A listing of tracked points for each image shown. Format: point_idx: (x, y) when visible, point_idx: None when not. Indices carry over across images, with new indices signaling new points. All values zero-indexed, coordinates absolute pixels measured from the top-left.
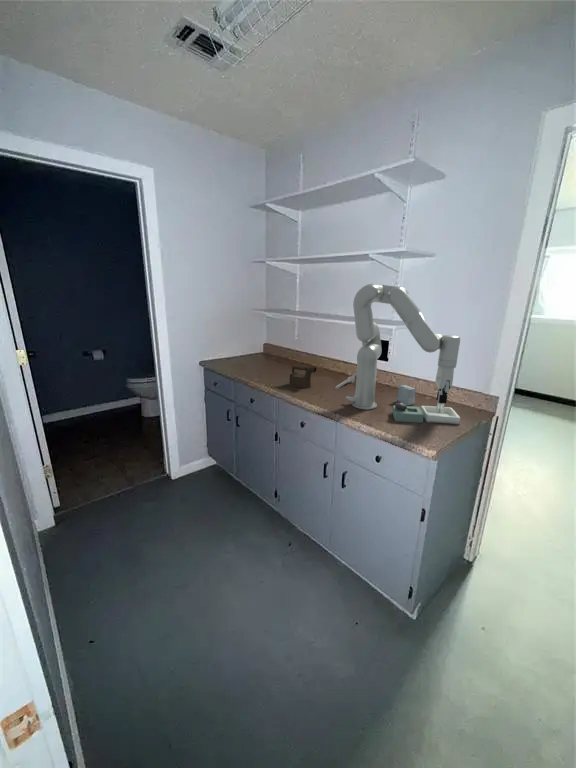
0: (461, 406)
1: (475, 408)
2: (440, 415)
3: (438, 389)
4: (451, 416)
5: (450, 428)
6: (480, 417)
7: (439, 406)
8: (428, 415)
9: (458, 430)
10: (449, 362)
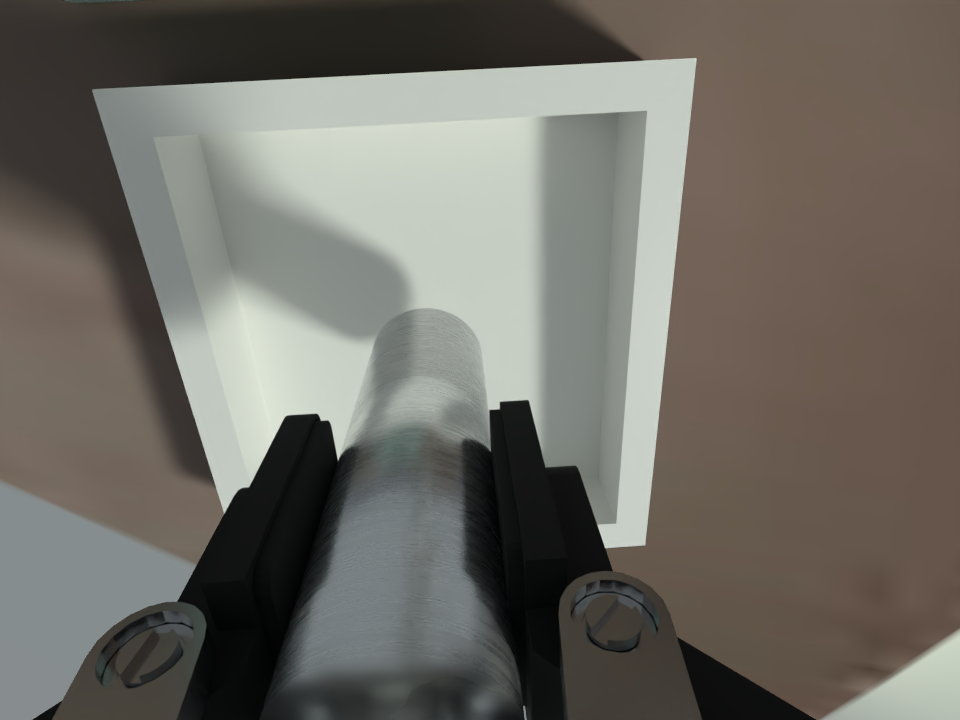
0: (874, 619)
1: (808, 708)
2: None
3: (597, 667)
4: (242, 483)
5: (74, 392)
6: None
7: (360, 390)
8: (102, 114)
9: (57, 465)
10: None
